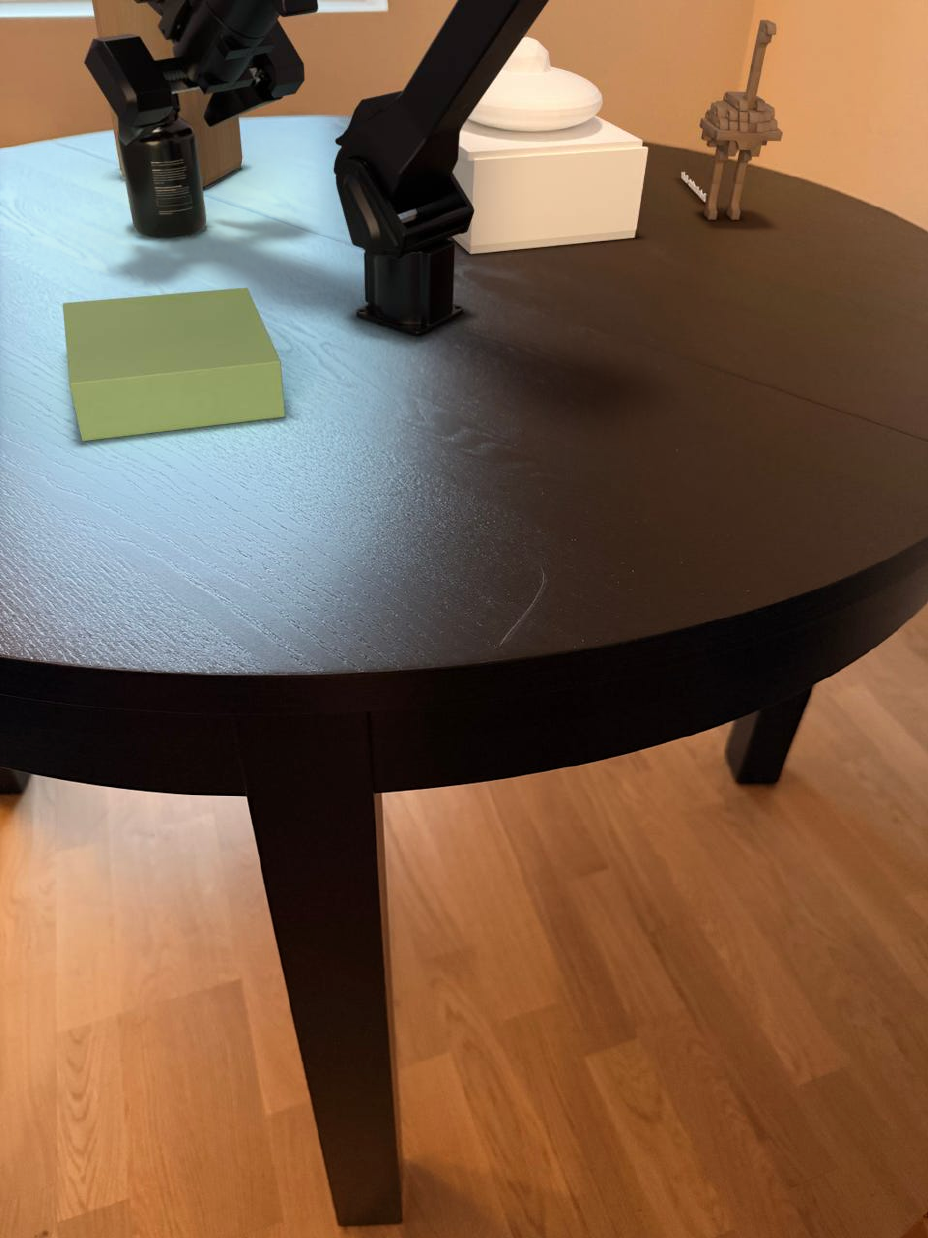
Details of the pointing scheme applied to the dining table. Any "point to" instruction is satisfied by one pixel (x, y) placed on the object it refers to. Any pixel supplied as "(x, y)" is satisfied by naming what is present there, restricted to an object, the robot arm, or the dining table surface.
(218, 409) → the green block
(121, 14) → the wooden block
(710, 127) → the ostrich figurine
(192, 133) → the supplement bottle
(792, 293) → the dining table surface
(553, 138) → the butter dish
